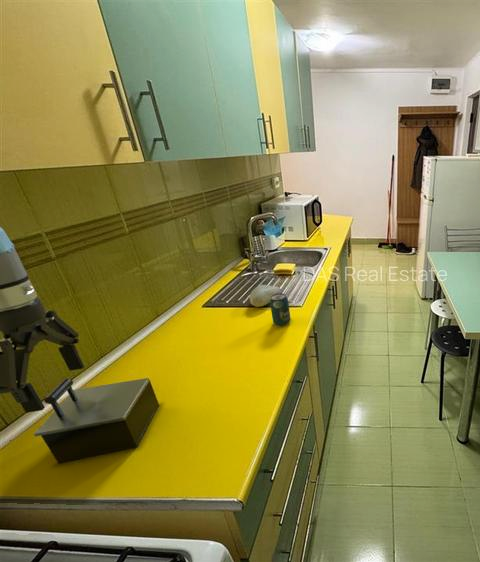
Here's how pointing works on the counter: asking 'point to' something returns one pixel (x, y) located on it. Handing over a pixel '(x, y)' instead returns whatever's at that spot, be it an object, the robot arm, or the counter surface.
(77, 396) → the lid
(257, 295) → the rock
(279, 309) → the soda can
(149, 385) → the black hollow box
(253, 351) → the counter surface
